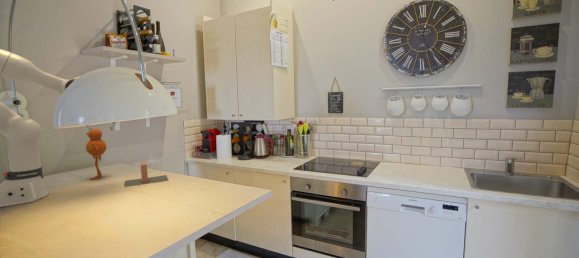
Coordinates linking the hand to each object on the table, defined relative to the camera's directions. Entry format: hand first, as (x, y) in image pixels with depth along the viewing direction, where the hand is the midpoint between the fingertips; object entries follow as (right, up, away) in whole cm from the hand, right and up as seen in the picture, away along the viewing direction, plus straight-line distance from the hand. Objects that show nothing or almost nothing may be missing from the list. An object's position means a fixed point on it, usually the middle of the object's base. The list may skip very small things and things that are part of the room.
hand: (101, 130), depth 150 cm
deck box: (+16, -29, +13) cm, 35 cm away
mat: (+16, -29, +14) cm, 36 cm away
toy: (-16, -29, +22) cm, 40 cm away
